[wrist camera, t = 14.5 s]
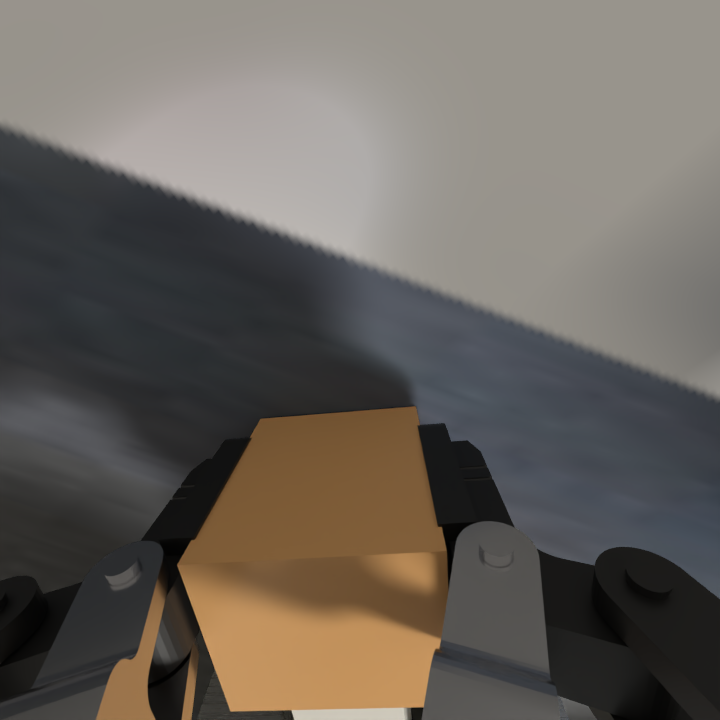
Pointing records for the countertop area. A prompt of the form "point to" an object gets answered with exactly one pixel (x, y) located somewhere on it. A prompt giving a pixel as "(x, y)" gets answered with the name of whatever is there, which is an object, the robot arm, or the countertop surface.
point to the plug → (323, 569)
